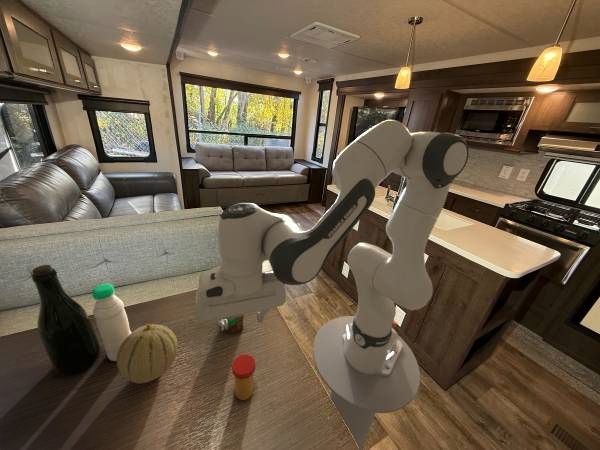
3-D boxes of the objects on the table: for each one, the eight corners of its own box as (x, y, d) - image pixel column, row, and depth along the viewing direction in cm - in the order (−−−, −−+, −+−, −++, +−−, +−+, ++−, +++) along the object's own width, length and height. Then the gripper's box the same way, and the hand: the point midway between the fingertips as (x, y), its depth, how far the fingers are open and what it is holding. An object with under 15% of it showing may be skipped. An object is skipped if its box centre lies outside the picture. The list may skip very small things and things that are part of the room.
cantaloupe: (121, 405, 64) (107, 366, 57) (123, 359, 75) (112, 322, 69) (183, 379, 71) (177, 342, 65) (177, 341, 82) (171, 306, 76)
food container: (213, 319, 92) (211, 298, 88) (228, 312, 96) (227, 291, 92) (228, 341, 84) (227, 319, 80) (244, 332, 88) (244, 310, 84)
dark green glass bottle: (45, 375, 69) (-5, 278, 56) (77, 344, 78) (41, 255, 65) (82, 378, 69) (41, 282, 56) (109, 346, 78) (80, 258, 65)
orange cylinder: (247, 378, 72) (247, 353, 68) (256, 392, 69) (257, 366, 65) (232, 389, 69) (230, 363, 65) (240, 404, 66) (239, 378, 62)
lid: (248, 354, 69) (248, 350, 69) (259, 370, 65) (259, 365, 65) (228, 366, 66) (228, 362, 65) (239, 384, 62) (239, 379, 61)
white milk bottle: (106, 349, 77) (84, 285, 67) (133, 338, 82) (116, 276, 72) (109, 366, 73) (86, 299, 62) (137, 354, 77) (119, 289, 67)
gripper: (283, 262, 60) (280, 306, 65) (192, 275, 53) (197, 323, 58) (291, 277, 55) (288, 324, 60) (191, 294, 47) (198, 345, 53)
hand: (243, 324), depth 59 cm, fingers open, 7 cm apart
